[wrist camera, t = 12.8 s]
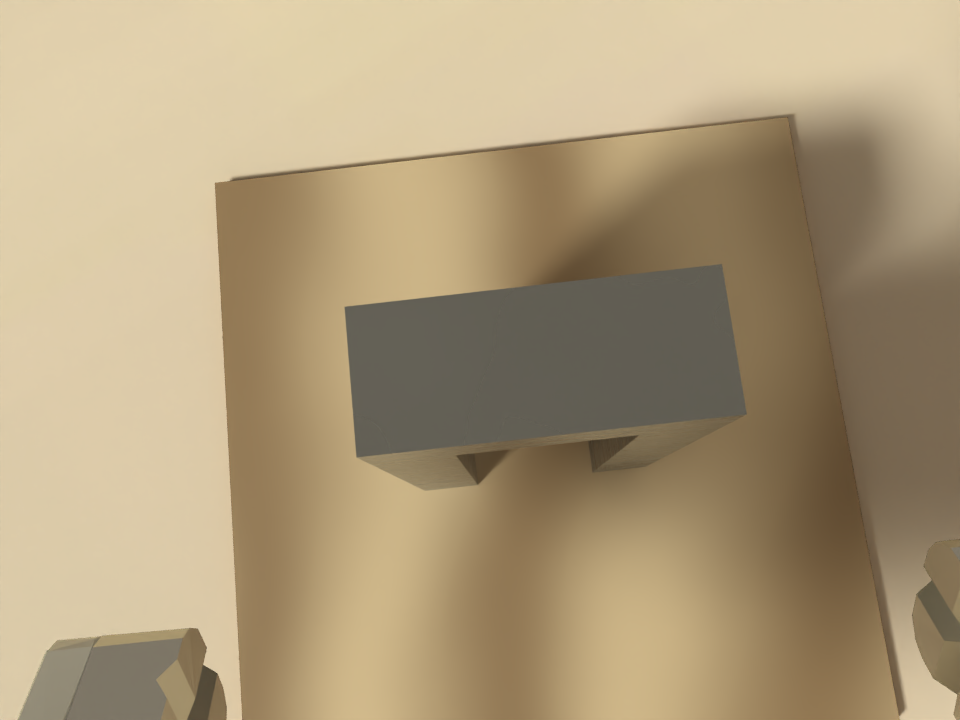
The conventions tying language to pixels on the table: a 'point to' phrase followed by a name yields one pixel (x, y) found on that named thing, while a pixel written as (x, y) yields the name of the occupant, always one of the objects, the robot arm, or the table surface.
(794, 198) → the mat
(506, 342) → the arch
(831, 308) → the table surface
